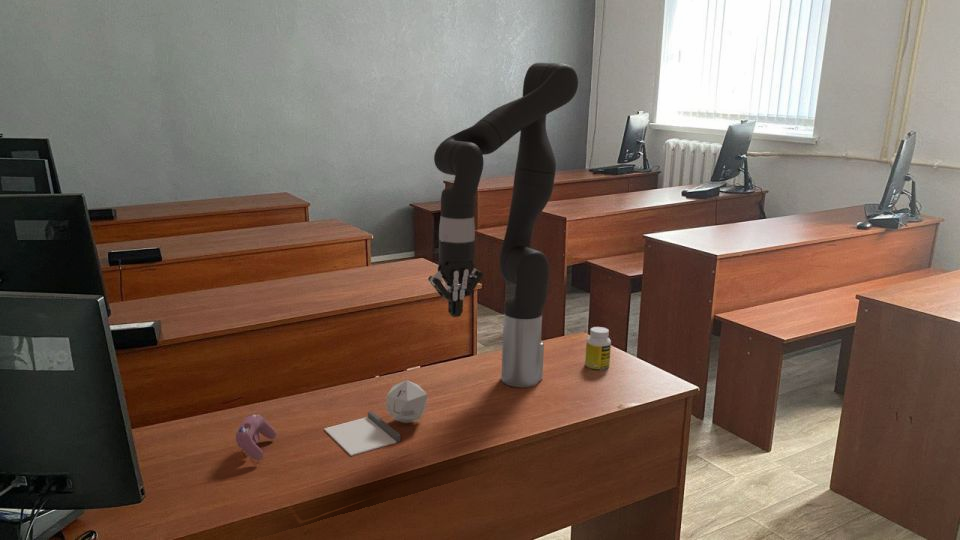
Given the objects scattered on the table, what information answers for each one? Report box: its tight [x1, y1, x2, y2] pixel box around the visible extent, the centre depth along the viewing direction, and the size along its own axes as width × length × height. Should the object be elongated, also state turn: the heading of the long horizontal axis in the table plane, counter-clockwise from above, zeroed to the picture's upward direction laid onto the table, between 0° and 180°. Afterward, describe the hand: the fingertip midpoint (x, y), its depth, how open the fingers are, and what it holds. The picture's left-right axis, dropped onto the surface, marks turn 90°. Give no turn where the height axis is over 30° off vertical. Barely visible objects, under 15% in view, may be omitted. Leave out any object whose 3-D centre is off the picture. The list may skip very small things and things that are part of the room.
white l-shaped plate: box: [323, 410, 401, 457], centre depth 148 cm, size 11×13×2 cm
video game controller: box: [235, 413, 277, 461], centre depth 141 cm, size 10×5×7 cm, turn 178°
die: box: [385, 379, 428, 424], centre depth 153 cm, size 8×9×10 cm
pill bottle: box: [584, 326, 612, 371], centre depth 184 cm, size 6×6×11 cm
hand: (455, 315), depth 156 cm, fingers closed
